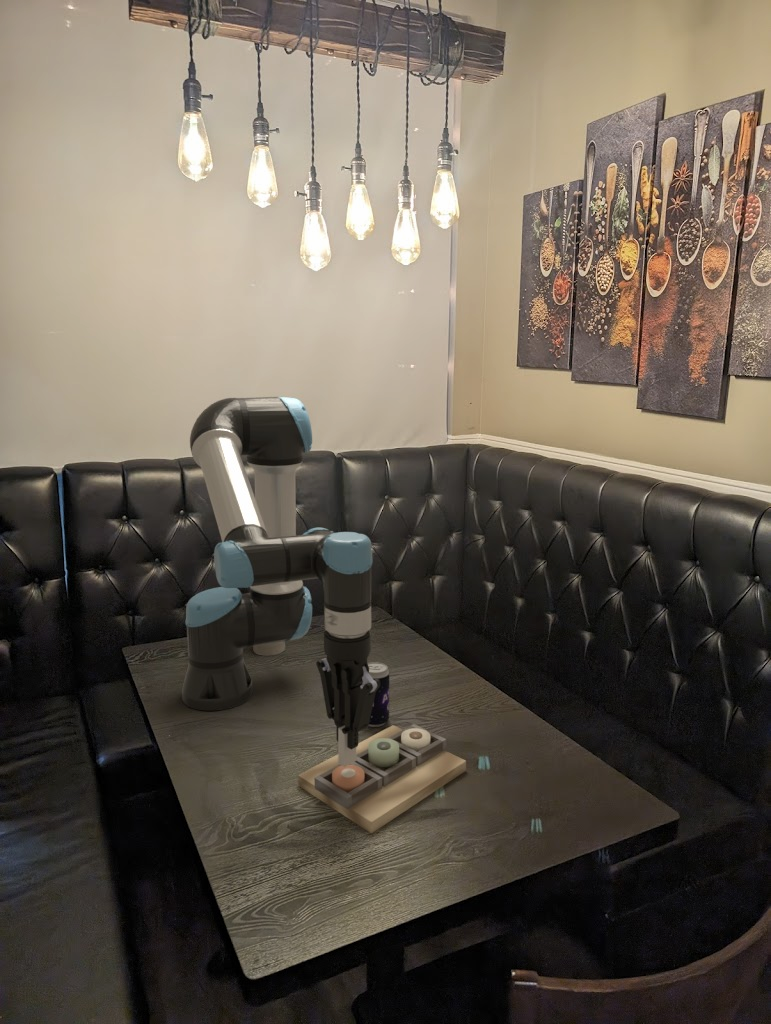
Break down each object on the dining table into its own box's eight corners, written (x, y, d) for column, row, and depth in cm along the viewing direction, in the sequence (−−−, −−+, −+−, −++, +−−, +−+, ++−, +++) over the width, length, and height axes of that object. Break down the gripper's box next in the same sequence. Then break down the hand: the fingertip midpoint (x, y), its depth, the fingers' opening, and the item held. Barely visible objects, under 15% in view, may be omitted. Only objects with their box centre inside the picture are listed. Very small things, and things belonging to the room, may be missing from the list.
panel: (295, 786, 121) (295, 765, 120) (394, 733, 139) (395, 714, 138) (369, 834, 109) (369, 812, 108) (467, 769, 127) (468, 749, 126)
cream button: (395, 747, 129) (395, 734, 129) (414, 736, 133) (414, 724, 133) (416, 759, 126) (417, 745, 125) (436, 747, 129) (436, 734, 129)
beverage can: (386, 730, 140) (386, 674, 137) (358, 727, 141) (358, 671, 138) (391, 716, 145) (391, 662, 143) (364, 713, 146) (364, 660, 144)
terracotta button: (325, 786, 117) (325, 772, 117) (349, 773, 121) (349, 759, 121) (347, 800, 114) (347, 786, 113) (371, 786, 117) (371, 772, 117)
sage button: (362, 758, 123) (361, 745, 122) (383, 746, 127) (383, 733, 126) (384, 771, 119) (384, 757, 119) (405, 758, 123) (405, 745, 123)
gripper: (303, 624, 113) (304, 755, 119) (358, 648, 105) (358, 788, 110) (337, 613, 119) (337, 738, 124) (393, 635, 110) (391, 769, 115)
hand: (347, 761), depth 117 cm, fingers closed
